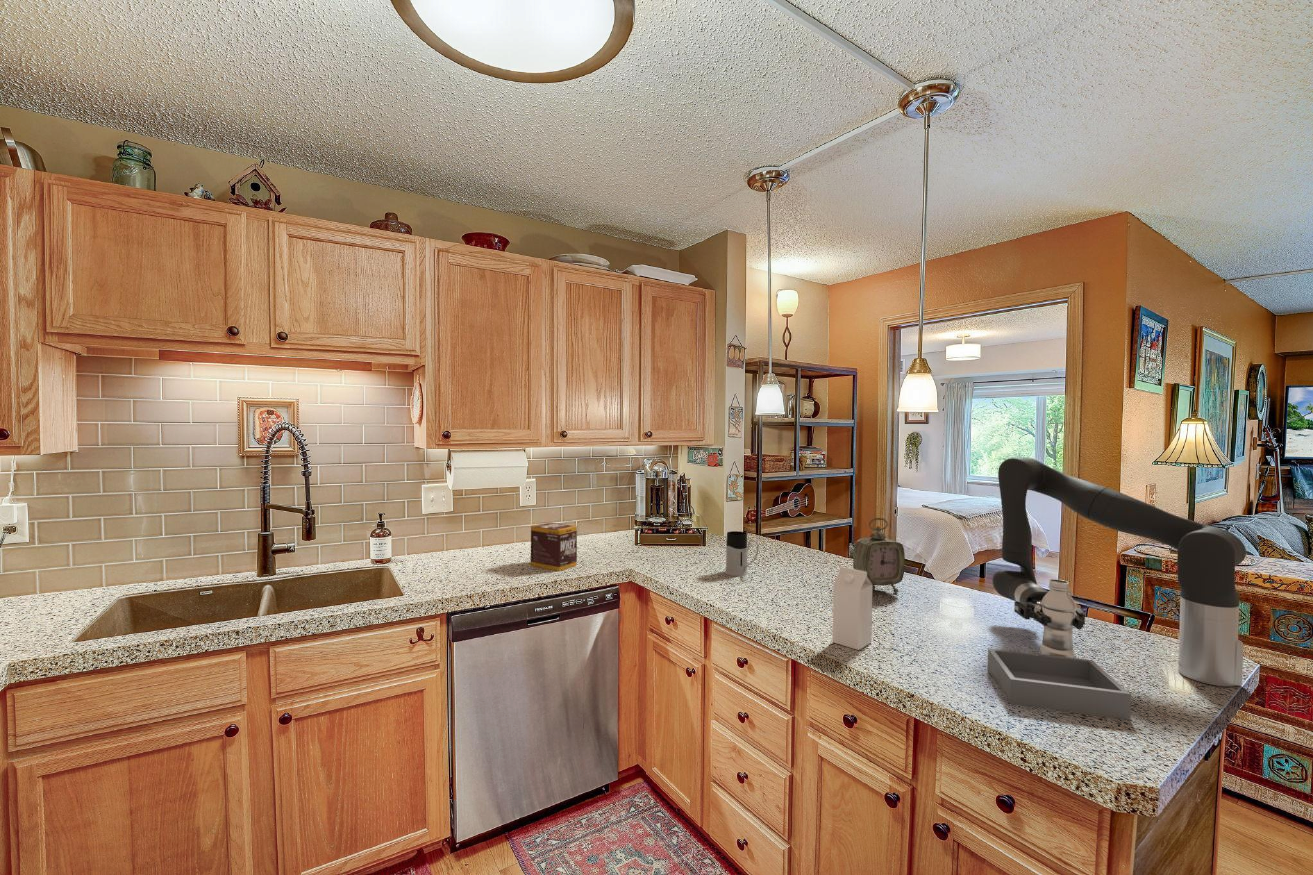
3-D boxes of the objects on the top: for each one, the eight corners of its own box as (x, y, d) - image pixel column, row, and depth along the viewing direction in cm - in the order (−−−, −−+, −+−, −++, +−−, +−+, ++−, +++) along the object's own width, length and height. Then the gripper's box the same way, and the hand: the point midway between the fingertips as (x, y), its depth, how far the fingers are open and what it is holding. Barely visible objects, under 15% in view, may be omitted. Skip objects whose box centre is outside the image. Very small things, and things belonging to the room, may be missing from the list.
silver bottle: (1040, 658, 133) (1042, 575, 132) (1076, 666, 129) (1077, 580, 128) (1038, 667, 128) (1039, 581, 127) (1074, 675, 124) (1076, 587, 123)
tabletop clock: (864, 597, 179) (866, 520, 179) (849, 588, 188) (850, 515, 188) (904, 594, 182) (905, 519, 182) (887, 586, 191) (888, 514, 191)
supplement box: (559, 571, 207) (559, 530, 207) (530, 565, 216) (530, 525, 215) (577, 565, 216) (577, 526, 216) (548, 560, 224) (549, 521, 224)
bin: (1091, 682, 120) (1092, 659, 120) (1130, 720, 105) (1130, 694, 105) (987, 669, 126) (988, 648, 126) (1010, 703, 111) (1010, 679, 111)
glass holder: (734, 568, 214) (735, 529, 213) (765, 576, 203) (765, 535, 203) (720, 572, 208) (720, 532, 207) (750, 580, 197) (750, 538, 197)
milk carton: (845, 635, 146) (846, 564, 146) (871, 643, 141) (872, 569, 141) (832, 642, 141) (833, 569, 141) (858, 650, 136) (860, 574, 136)
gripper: (1004, 583, 144) (1026, 603, 128) (1069, 589, 140) (1100, 610, 123) (1003, 612, 144) (1026, 635, 128) (1068, 618, 140) (1100, 643, 124)
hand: (1062, 623), depth 126 cm, fingers closed on silver bottle, 6 cm apart
